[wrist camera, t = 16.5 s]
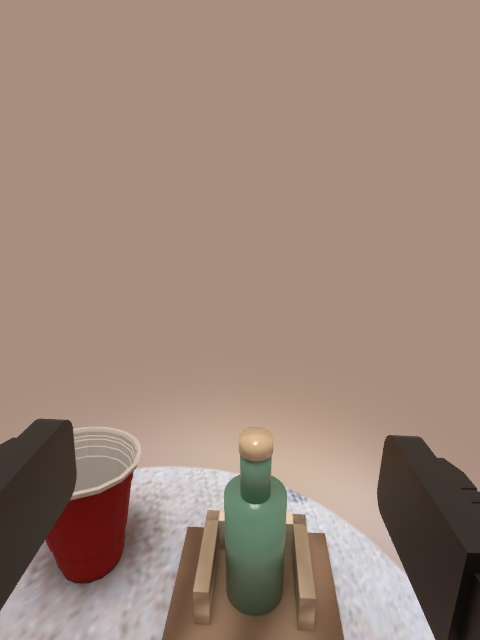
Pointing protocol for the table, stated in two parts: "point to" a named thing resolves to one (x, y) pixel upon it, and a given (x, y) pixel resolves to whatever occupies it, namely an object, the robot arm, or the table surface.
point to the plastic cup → (96, 504)
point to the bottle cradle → (230, 624)
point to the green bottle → (255, 528)
